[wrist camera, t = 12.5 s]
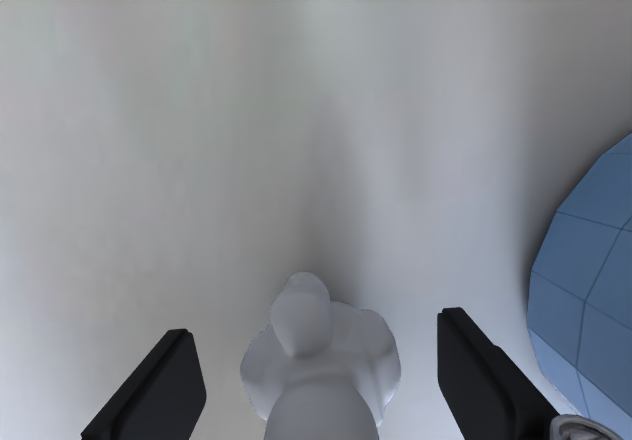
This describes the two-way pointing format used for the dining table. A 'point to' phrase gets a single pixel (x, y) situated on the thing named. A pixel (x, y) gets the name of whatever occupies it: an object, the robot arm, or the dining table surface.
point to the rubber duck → (320, 366)
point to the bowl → (589, 294)
